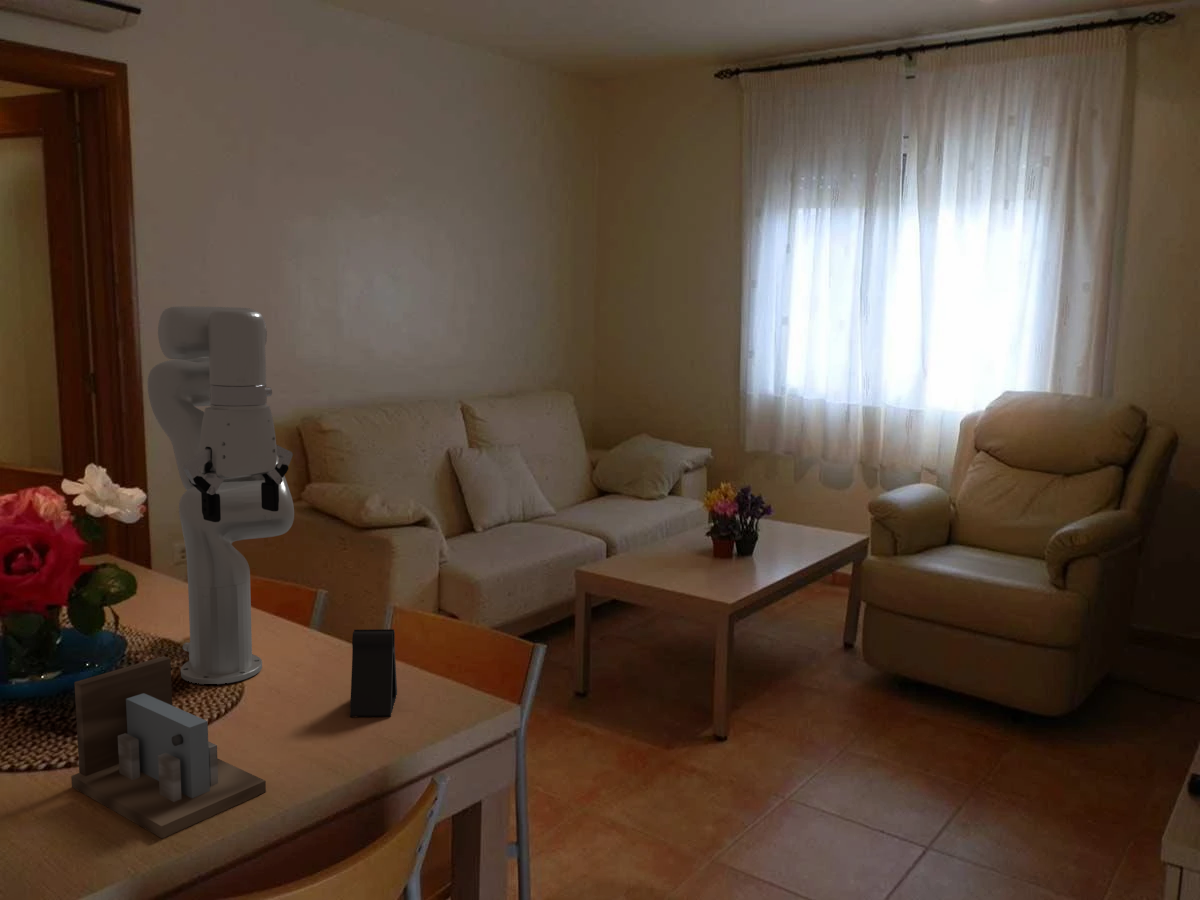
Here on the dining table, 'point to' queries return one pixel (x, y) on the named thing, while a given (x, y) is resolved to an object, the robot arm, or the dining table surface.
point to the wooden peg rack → (115, 756)
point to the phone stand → (373, 673)
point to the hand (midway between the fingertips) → (241, 515)
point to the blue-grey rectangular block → (170, 740)
